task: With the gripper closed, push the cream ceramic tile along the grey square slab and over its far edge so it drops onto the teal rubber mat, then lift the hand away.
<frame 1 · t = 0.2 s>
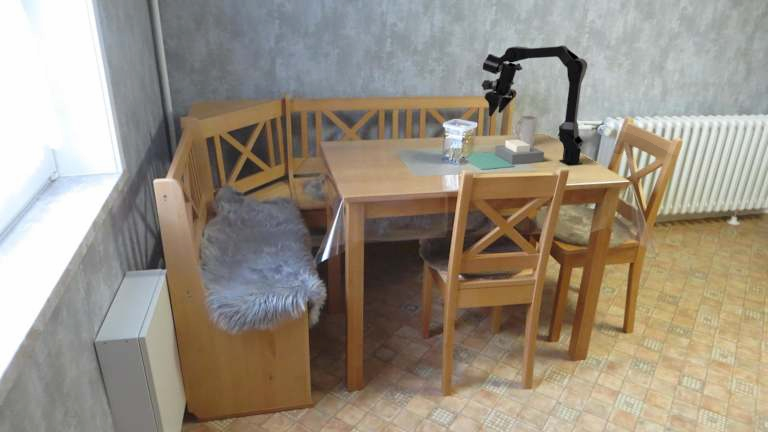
hand: (494, 114, 228), 15 cm above the table, tool pointing down, fingers open, 9 cm apart
mat: (486, 161, 218), on the table
mug: (522, 144, 242), on the table
grey square slab: (518, 158, 222), on the table
tile: (517, 145, 220), point 5 cm above the table, touching grey square slab
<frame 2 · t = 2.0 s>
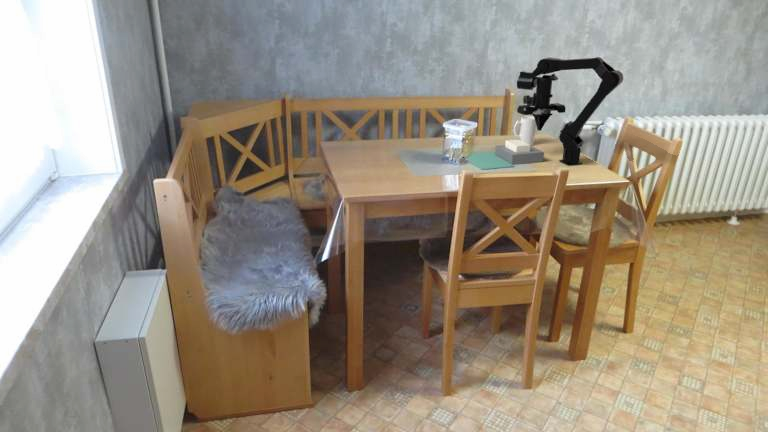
hand: (539, 130, 220), 11 cm above the table, tool pointing down, fingers closed
nothing on the table moved.
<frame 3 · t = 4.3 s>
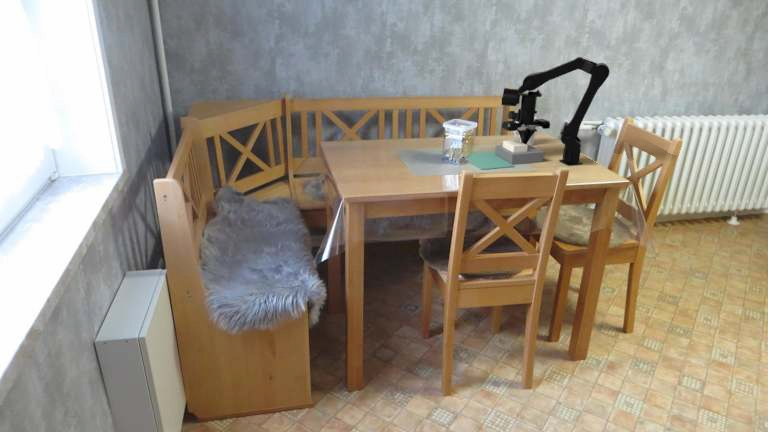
hand: (523, 145, 221), 5 cm above the table, tool pointing down, fingers closed
tile: (514, 146, 220), point 5 cm above the table, touching gripper
everything else where it was.
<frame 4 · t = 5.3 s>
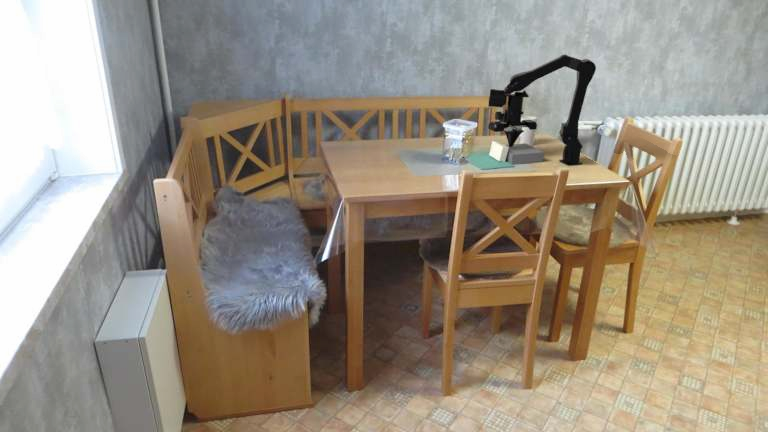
hand: (510, 146, 219), 5 cm above the table, tool pointing down, fingers closed
tile: (498, 151, 219), point 4 cm above the table, tilted 80°, touching mat
everything else where it was.
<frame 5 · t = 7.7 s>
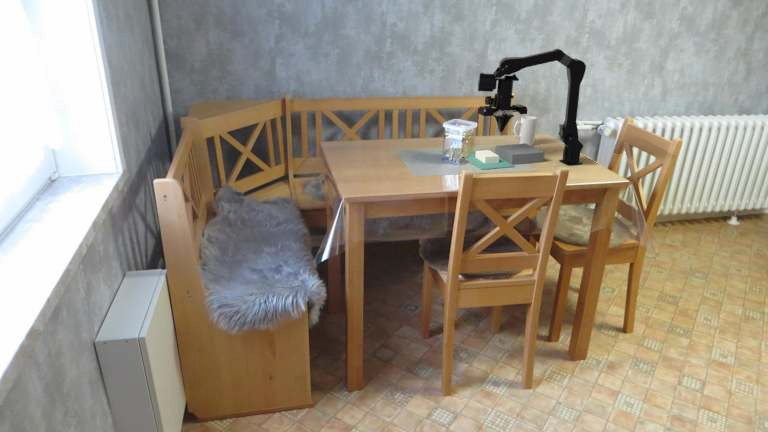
hand: (500, 132, 215), 12 cm above the table, tool pointing down, fingers closed
tile: (487, 156, 218), point 2 cm above the table, tilted 180°, touching mat
everything else where it was.
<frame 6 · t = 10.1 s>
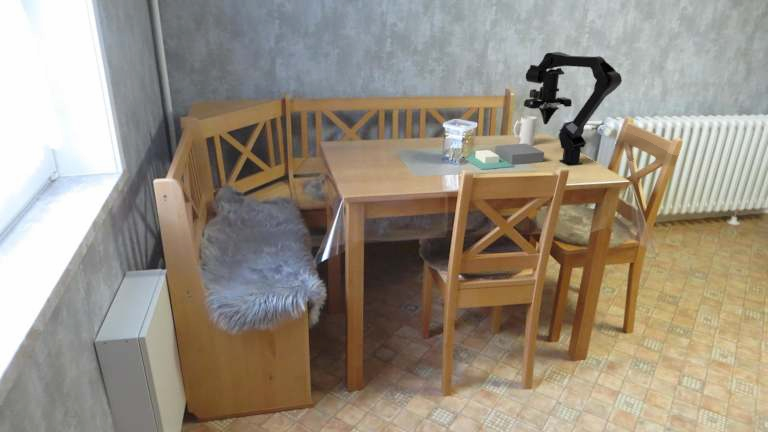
hand: (545, 124, 222), 13 cm above the table, tool pointing down, fingers closed
nothing on the table moved.
at the end: tile point 1.7 cm above the table; tile inside the target area on the mat (0.8 cm from its centre), point 1.7 cm above the mat's base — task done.
